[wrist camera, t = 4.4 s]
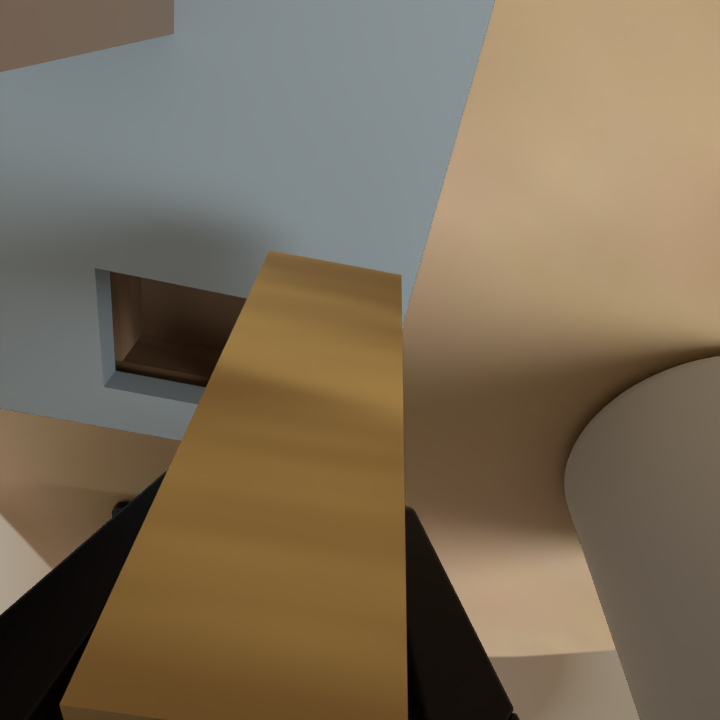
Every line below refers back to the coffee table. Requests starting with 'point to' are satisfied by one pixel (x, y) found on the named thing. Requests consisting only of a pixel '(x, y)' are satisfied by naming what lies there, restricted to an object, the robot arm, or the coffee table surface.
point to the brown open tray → (169, 328)
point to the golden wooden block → (273, 524)
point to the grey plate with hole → (206, 166)
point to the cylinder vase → (657, 535)
